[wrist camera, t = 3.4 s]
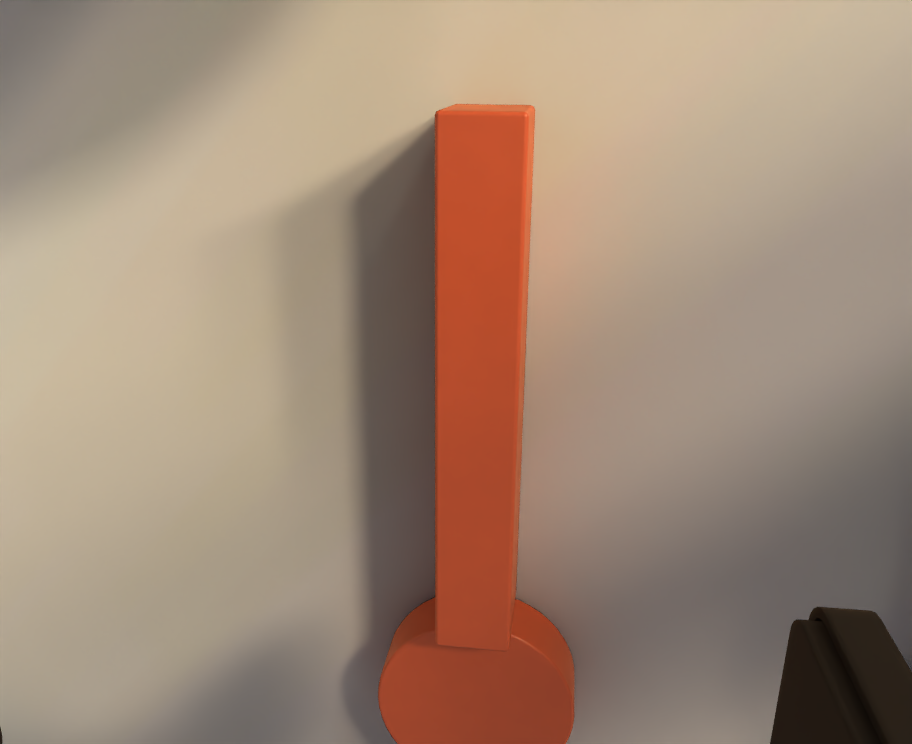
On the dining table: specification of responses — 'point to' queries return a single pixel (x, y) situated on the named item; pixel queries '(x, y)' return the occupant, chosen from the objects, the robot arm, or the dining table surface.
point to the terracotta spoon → (479, 463)
